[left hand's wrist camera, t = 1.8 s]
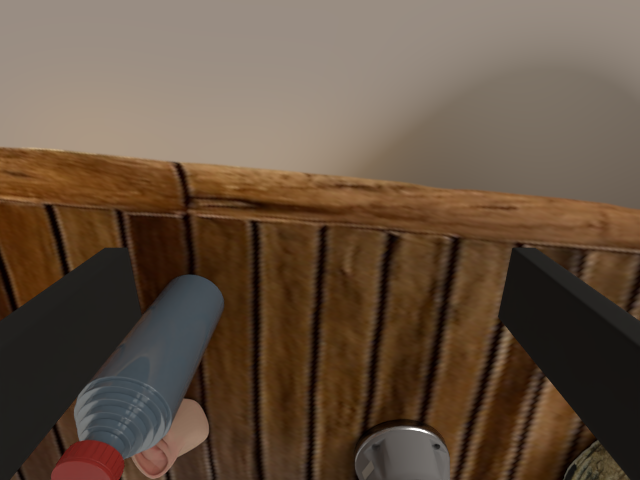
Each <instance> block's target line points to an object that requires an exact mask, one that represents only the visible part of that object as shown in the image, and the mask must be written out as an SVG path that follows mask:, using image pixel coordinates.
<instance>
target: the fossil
mask: <svg viewBox="0 0 640 480" xmlns="http://www.w3.org/2000/svg"><path fill="white" fill-rule="evenodd" d="M563 480H630V479H629V478H628V476H627V475H626V474H625V473H624V472H623V470H622V469H621V468H620V467H619V465H618V464H617V463H616V462H615V460H614V459H613V458H612V457H611V456H610V454H609V453H608V452H607V451H606V449H605V448H604V447H603V446H602V444H601V443H600V442H599V441H598V440H597V441H596V442H594V443H593V444H592V445H591V446H590V447H589V448H588V449H586V450H585V451H583V452H582V453H581V454H580V455H579V456H578V457H577V458H576V459H575V460H574V461H573V463H572V464H571V465H570V466H569V468H568V469H567V472H566V474H565V476H564V479H563Z"/></svg>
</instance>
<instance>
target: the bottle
mask: <svg viewBox="0 0 640 480" xmlns="http://www.w3.org/2000/svg"><path fill="white" fill-rule="evenodd" d="M223 309H224V300H223V296H222V294H221V292H220V290H219V289H218V288H217V286H216V285H215V284H213V283H212V282H211V281H209V280H208V279H206V278H204V277H201V276H197V275H183V276H179V277H177V278H175V279H173V280H171V281H170V282H169V283H168V284H167V285H166V287H165V288H164V289H163V290H162V292H161V293H160V294H159V295H158V297H157V298H156V299H155V300H154V301H153V303H152V304H151V305H150V306H149V308H148V309H147V310H146V311H145V312H144V314H143V315H142V317H141V319H140V320H139V321H138V322H137V324H136V325H135V326H134V327H133V328H132V330H131V331H130V332H129V333H128V335H127V336H126V337H125V338H124V340H123V341H122V342H121V343H120V344H119V346H118V347H117V348H116V349H115V351H114V352H113V353H112V354H111V356H110V357H109V358H108V359H107V361H106V362H105V363H104V364H103V365H102V367H101V368H100V369H99V370H98V372H97V373H96V374H95V375H94V377H93V378H92V379H91V380H90V382H89V383H88V384H87V385H86V386H85V388H84V389H83V390H82V391H81V393H80V394H79V395H78V397H77V402H76V405H75V409H74V417H75V421H76V427H77V433H78V437H79V441H83V440H96V441H100V442H104V443H106V444H108V445H110V446H112V447H114V448H115V449H116V450H117V451H118V452H119V453H120V454H121V456H122V457H123V460H124V459H125V458H129V457H131V456H133V455H135V454H138V453H140V452H142V451H145V450H148V449H150V448H152V447H153V446H155V445H156V444H157V443H158V442H159V441H160V440H161V439H162V438H163V437H164V436H165V435H166V434H167V433H168V431H169V430H170V428H171V426H172V423H173V421H174V419H175V417H176V414H177V412H178V410H179V408H180V406H181V403H182V401H183V399H184V397H185V395H186V392H187V390H188V388H189V386H190V384H191V381H192V379H193V377H194V375H195V372H196V370H197V368H198V366H199V364H200V361H201V359H202V357H203V355H204V353H205V350H206V348H207V346H208V344H209V342H210V339H211V337H212V335H213V333H214V330H215V328H216V326H217V324H218V322H219V319H220V317H221V315H222V313H223Z"/></svg>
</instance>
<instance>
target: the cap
mask: <svg viewBox="0 0 640 480" xmlns="http://www.w3.org/2000/svg"><path fill="white" fill-rule="evenodd" d="M124 466H125V465H124V460H123V457H122V456H121V454H120V453H119V452H118V451H117V450H116V449H115V448H114V447H112V446H110V445H108V444H106V443H104V442H100V441H96V440H83V441H79V442H76V443H74V444H73V445H71V446H70V447H69V448H68V449H67V450H66V451H65V453H64V454H63V455H62V457H61V458H60V460H59V461H58V462H57V464H56V467H55V468H54V470H53V471H52V474H51V480H119V479H120V477H121V475H122V473H123V469H124Z"/></svg>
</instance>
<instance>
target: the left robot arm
mask: <svg viewBox="0 0 640 480" xmlns="http://www.w3.org/2000/svg"><path fill="white" fill-rule="evenodd" d="M141 317H142V315H141V310H140V305H139V301H138V296H137V291H136V286H135V282H134V277H133V272H132V267H131V262H130V258H129V253H128V248H104V249H103V250H101V251H100V252H98V253H97V254H95V255H94V256H93V257H91V258H90V259H88V260H87V261H85V262H84V263H83V264H81V265H80V266H78V267H77V268H75V269H74V270H73V271H71V272H70V273H68V274H67V275H65V276H64V277H63V278H61V279H60V280H58V281H57V282H55V283H54V284H53V285H51V286H50V287H48V288H47V289H45V290H44V291H43V292H41V293H40V294H38V295H37V296H35V297H34V298H33V299H31V300H30V301H28V302H27V303H25V304H24V305H23V306H21V307H20V308H18V309H17V310H15V311H14V312H13V313H11V314H10V315H8V316H7V317H5V318H4V319H3V320H1V321H0V480H10V479H11V478H12V476H13V475H14V474H15V473H16V472H17V470H18V469H19V468H20V467H21V465H22V464H23V463H24V462H25V460H26V459H27V458H28V457H29V456H30V454H31V453H32V452H33V451H34V449H35V448H36V447H37V446H38V444H39V443H40V442H41V441H42V439H43V438H44V437H45V436H46V435H47V433H48V432H49V431H50V430H51V428H52V427H53V426H54V425H55V423H56V422H57V421H58V420H59V419H60V417H61V416H62V415H63V414H64V412H65V411H66V410H67V409H68V407H69V406H70V405H71V404H72V402H73V401H74V400H75V399H76V398H77V396H78V395H79V394H80V393H81V391H82V390H83V389H84V388H85V386H86V385H87V384H88V383H89V382H90V380H91V379H92V378H93V377H94V375H95V374H96V373H97V372H98V370H99V369H100V368H101V367H102V365H103V364H104V363H105V362H106V361H107V359H108V358H109V357H110V356H111V354H112V353H113V352H114V351H115V349H116V348H117V347H118V346H119V344H120V343H121V342H122V341H123V340H124V338H125V337H126V336H127V335H128V333H129V332H130V331H131V330H132V328H133V327H134V326H135V325H136V324H137V322H138V321H139V320H140V319H141ZM498 317H499V319H500V320H501V321H502V322H503V324H504V325H505V326H506V327H507V328H508V330H509V331H510V332H511V333H512V335H513V336H514V337H515V338H516V340H517V341H518V342H519V343H520V344H521V346H522V347H523V348H524V349H525V351H526V352H527V353H528V354H529V356H530V357H531V358H532V359H533V361H534V362H535V363H536V364H537V365H538V367H539V368H540V369H541V370H542V372H543V373H544V374H545V375H546V377H547V378H548V379H549V380H550V382H551V383H552V384H553V385H554V386H555V388H556V389H557V390H558V391H559V393H560V394H561V395H562V396H563V398H564V399H565V400H566V401H567V402H568V404H569V405H570V406H571V407H572V409H573V410H574V411H575V412H576V414H577V415H578V416H579V417H580V419H581V420H582V421H583V422H584V423H585V425H586V426H587V427H588V428H589V430H590V431H591V432H592V433H593V435H594V436H595V437H596V438H597V439H598V441H599V442H600V443H601V444H602V446H603V447H604V448H605V449H606V451H607V452H608V453H609V454H610V456H611V457H612V458H613V459H614V460H615V462H616V463H617V464H618V465H619V467H620V468H621V469H622V470H623V472H624V473H625V474H626V475H627V476H628V478H629V479H630V480H640V321H639V320H637V319H636V318H635V317H633V316H632V315H630V314H629V313H627V312H626V311H625V310H623V309H622V308H620V307H619V306H617V305H616V304H615V303H613V302H612V301H610V300H609V299H607V298H606V297H605V296H603V295H602V294H600V293H599V292H597V291H596V290H595V289H593V288H592V287H590V286H589V285H587V284H586V283H585V282H583V281H582V280H580V279H579V278H577V277H576V276H575V275H573V274H572V273H570V272H569V271H567V270H566V269H565V268H563V267H562V266H560V265H559V264H557V263H556V262H555V261H553V260H552V259H550V258H549V257H547V256H546V255H545V254H543V253H542V252H540V251H539V250H537V249H536V248H512V253H511V258H510V262H509V267H508V272H507V277H506V282H505V286H504V291H503V296H502V301H501V305H500V310H499V315H498ZM354 460H355V469H356V473H357V475H358V478H359V480H450V457H449V452H448V449H447V447H446V444H445V441H444V439H443V437H442V436H441V435H440V433H439V432H438V431H437V430H435V429H434V428H433V427H431V426H429V425H427V424H425V423H422V422H418V421H413V420H394V421H389V422H385V423H382V424H380V425H377V426H375V427H374V428H372V429H370V430H369V431H368V432H366V433H365V434H364V435H363V436H362V437H361V438H360V440H359V441H358V443H357V445H356V447H355V451H354Z"/></svg>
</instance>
